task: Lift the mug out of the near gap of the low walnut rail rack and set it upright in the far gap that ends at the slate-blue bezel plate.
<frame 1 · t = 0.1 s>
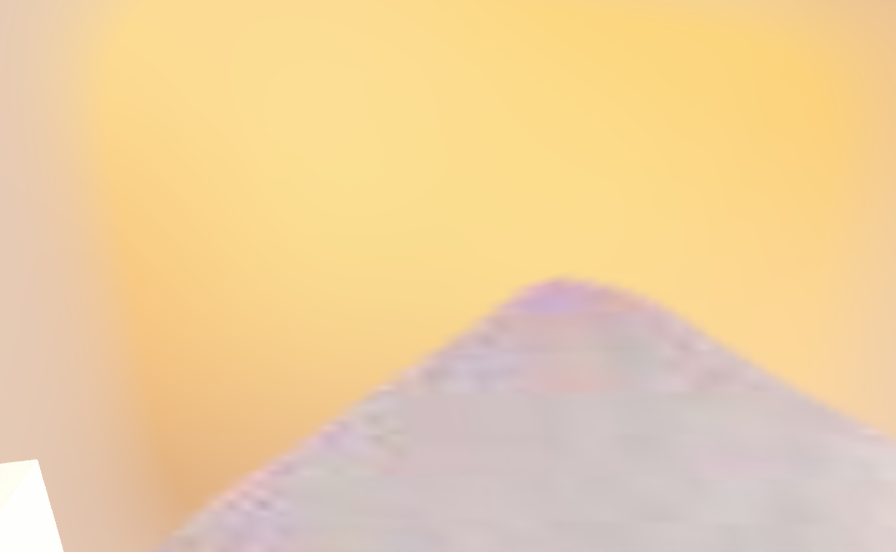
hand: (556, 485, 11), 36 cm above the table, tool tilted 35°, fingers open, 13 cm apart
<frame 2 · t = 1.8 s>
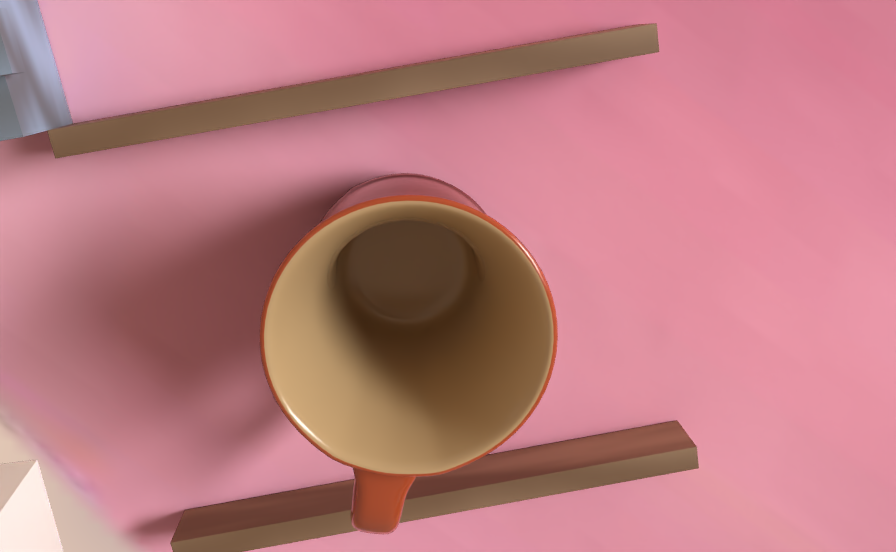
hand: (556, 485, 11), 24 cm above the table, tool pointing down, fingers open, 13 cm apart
mug: (398, 292, 35), on the table
rack: (358, 87, 33), on the table
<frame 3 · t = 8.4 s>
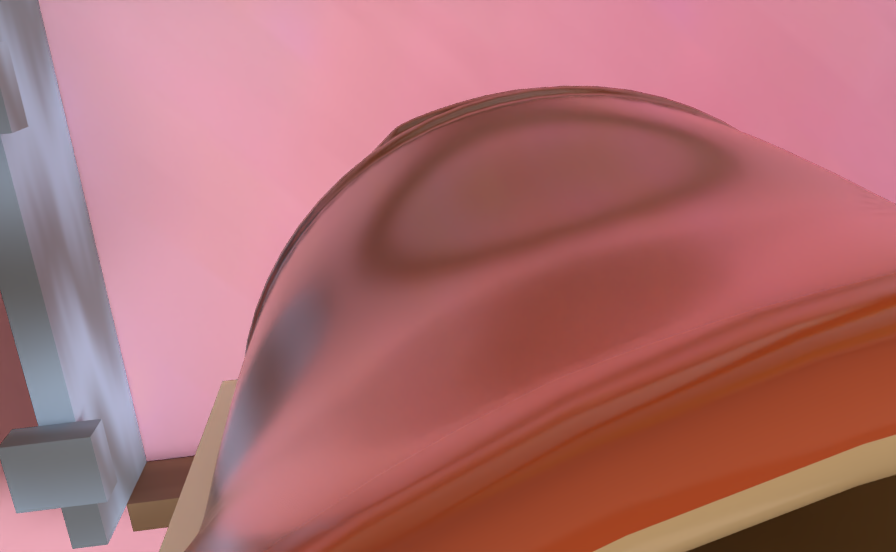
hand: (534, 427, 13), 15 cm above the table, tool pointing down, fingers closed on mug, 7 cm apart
mug: (492, 417, 13), point 14 cm above the table, touching gripper
rack: (469, 435, 29), on the table
when the fingers open (1 cm above the table, at t = 11.6 s): mug stays where it is, on the table.
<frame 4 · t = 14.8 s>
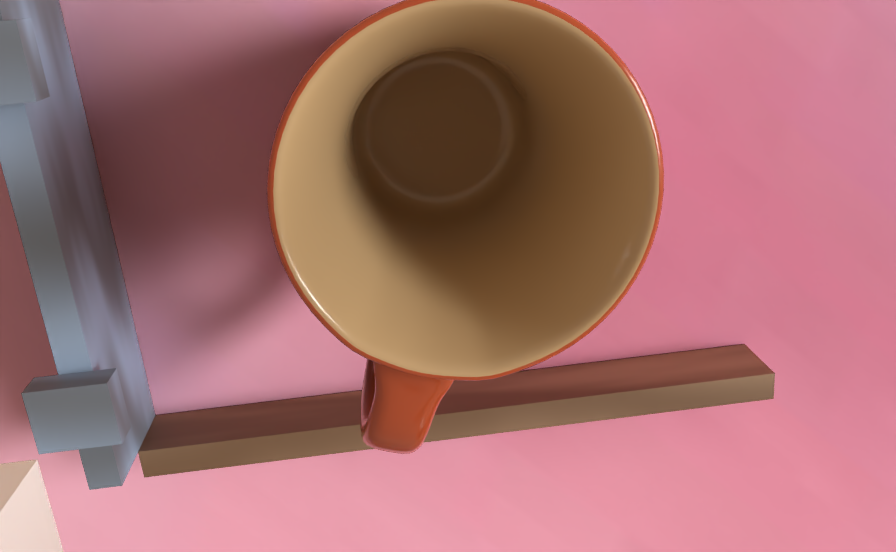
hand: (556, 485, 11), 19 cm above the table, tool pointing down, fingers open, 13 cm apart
mug: (420, 168, 29), on the table
rack: (457, 390, 31), on the table
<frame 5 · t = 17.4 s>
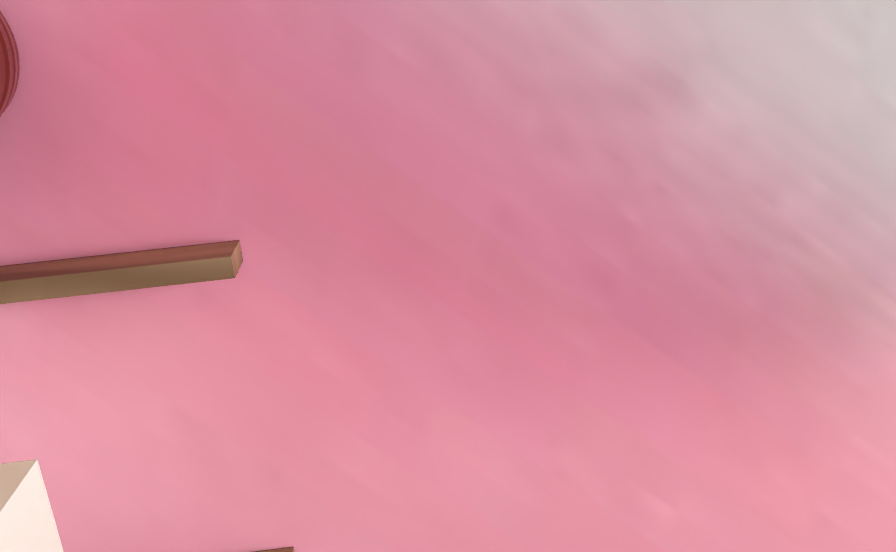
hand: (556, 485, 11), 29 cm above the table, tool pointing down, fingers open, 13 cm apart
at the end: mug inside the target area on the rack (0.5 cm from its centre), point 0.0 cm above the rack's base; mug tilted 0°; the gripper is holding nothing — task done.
